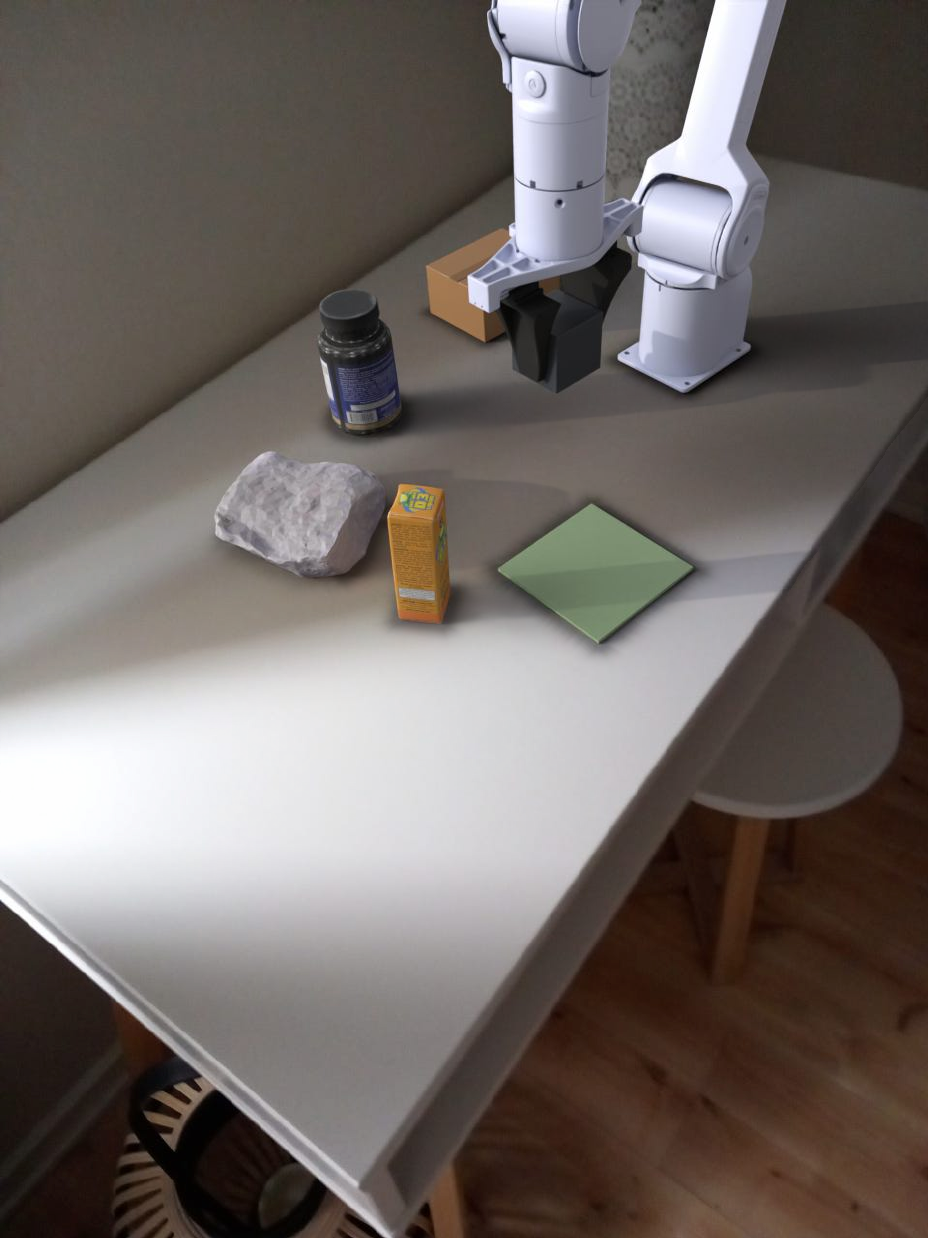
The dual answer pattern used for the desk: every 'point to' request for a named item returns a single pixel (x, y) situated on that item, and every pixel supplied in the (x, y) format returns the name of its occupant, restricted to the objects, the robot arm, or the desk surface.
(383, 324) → the pill bottle
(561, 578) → the mat
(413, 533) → the supplement box
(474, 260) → the storage box
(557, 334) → the small box
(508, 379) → the desk surface
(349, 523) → the stone block
